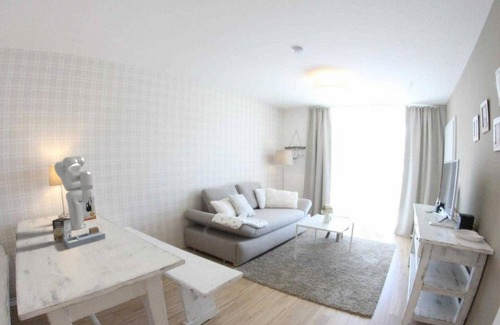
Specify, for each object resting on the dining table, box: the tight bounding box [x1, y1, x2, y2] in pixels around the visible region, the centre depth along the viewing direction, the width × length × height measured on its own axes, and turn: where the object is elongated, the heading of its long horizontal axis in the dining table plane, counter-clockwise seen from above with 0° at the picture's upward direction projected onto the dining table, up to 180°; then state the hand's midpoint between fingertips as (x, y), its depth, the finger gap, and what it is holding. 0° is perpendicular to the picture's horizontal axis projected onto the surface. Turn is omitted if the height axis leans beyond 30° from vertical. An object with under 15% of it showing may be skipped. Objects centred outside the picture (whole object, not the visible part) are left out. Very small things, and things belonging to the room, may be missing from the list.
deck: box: [62, 230, 106, 250], centre depth 171 cm, size 16×22×4 cm
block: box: [88, 226, 100, 234], centre depth 178 cm, size 5×5×4 cm
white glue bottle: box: [79, 195, 97, 221], centre depth 222 cm, size 14×6×21 cm, turn 125°
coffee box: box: [51, 217, 73, 243], centre depth 172 cm, size 9×6×16 cm
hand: (89, 211), depth 183 cm, fingers closed
